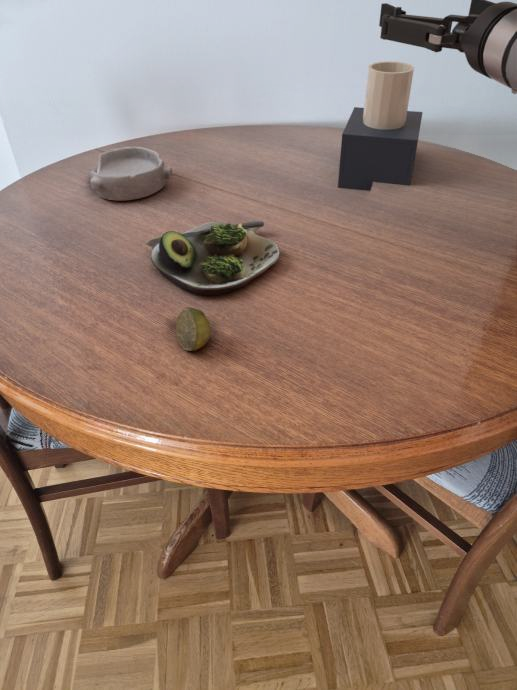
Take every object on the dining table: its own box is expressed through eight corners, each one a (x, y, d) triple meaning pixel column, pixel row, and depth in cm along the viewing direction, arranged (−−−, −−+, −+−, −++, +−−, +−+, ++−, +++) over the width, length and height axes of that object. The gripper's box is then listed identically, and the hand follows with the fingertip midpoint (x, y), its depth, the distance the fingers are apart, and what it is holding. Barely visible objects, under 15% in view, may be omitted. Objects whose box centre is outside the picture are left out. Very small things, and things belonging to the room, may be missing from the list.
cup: (406, 117, 98) (415, 62, 92) (403, 131, 93) (412, 74, 87) (365, 114, 100) (371, 60, 94) (360, 127, 94) (366, 71, 88)
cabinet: (349, 156, 109) (354, 107, 103) (413, 162, 106) (422, 111, 100) (337, 187, 99) (342, 133, 92) (408, 194, 96) (418, 140, 90)
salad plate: (228, 215, 91) (227, 189, 88) (308, 254, 81) (309, 226, 78) (132, 259, 81) (127, 231, 78) (210, 310, 71) (207, 280, 68)
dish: (96, 209, 93) (90, 181, 90) (88, 177, 103) (82, 151, 100) (179, 196, 97) (175, 168, 94) (163, 166, 107) (160, 141, 104)
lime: (202, 360, 64) (199, 327, 60) (167, 349, 65) (161, 317, 62) (219, 337, 67) (217, 305, 64) (185, 328, 68) (181, 296, 65)
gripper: (402, 90, 62) (342, 47, 78) (596, 72, 65) (501, 35, 81) (413, 14, 57) (346, -15, 73) (622, -1, 61) (515, -26, 76)
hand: (427, 11), depth 77 cm, fingers open, 13 cm apart
